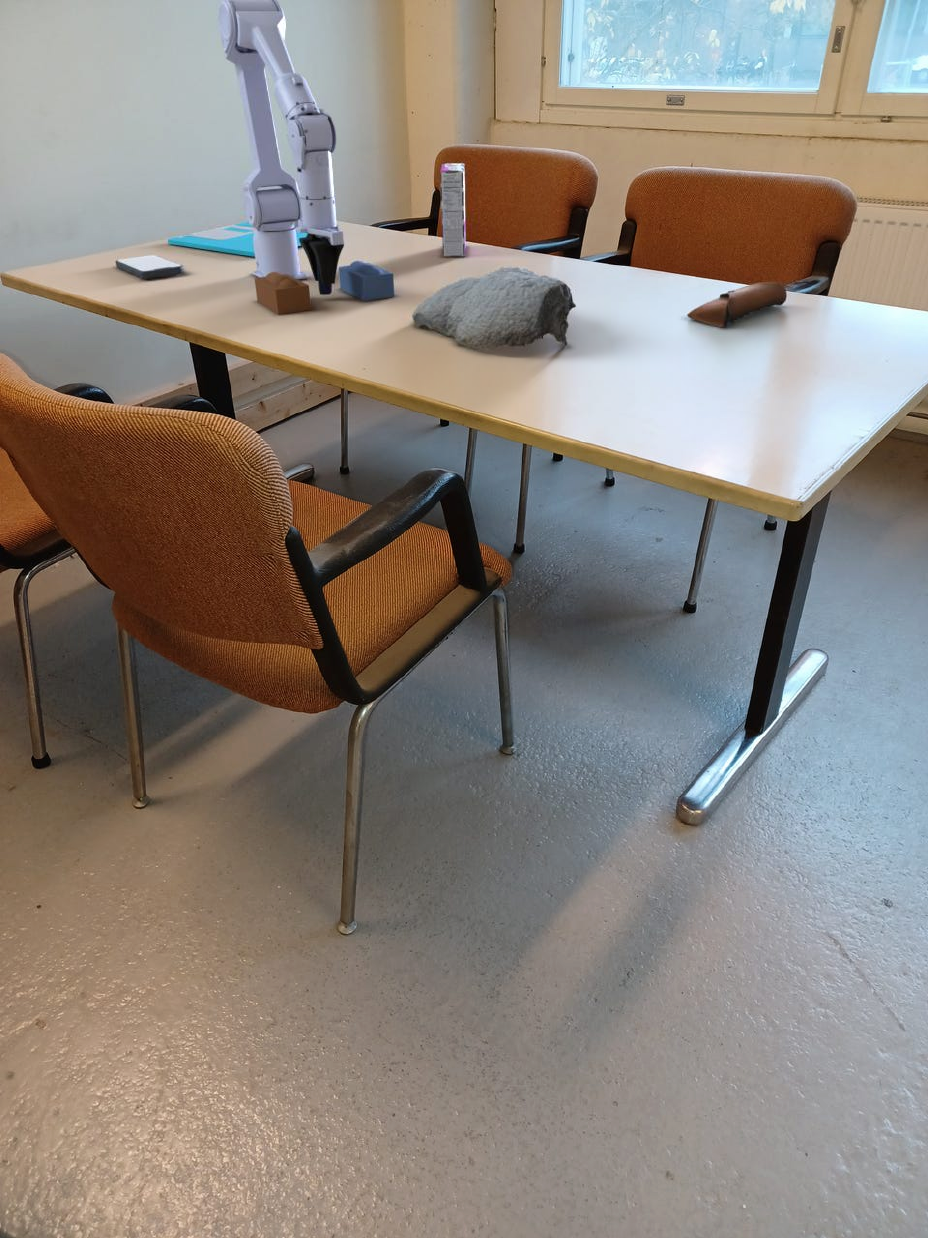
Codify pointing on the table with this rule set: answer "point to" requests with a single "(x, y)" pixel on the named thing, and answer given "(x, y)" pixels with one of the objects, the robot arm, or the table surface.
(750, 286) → the sunglasses case
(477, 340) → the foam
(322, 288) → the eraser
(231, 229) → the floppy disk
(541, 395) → the table surface
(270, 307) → the brown lumpy block
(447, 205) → the candy bar box
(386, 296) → the blue rectangular block
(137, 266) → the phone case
